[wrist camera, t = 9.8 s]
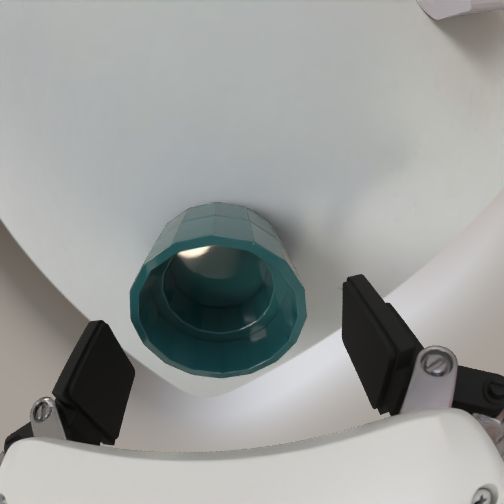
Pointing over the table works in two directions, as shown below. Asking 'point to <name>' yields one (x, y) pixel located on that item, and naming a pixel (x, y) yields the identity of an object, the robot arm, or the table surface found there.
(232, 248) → the bowl
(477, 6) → the charger
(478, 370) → the robot arm
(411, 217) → the table surface
